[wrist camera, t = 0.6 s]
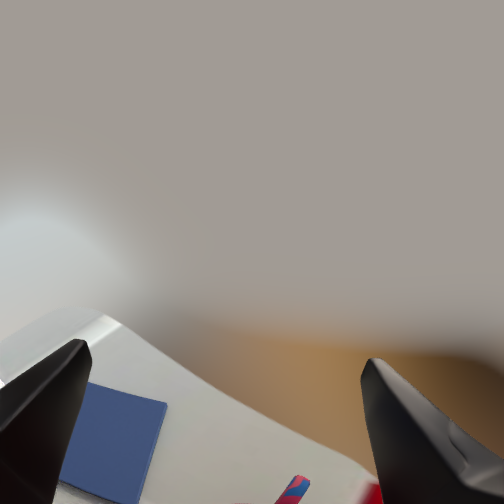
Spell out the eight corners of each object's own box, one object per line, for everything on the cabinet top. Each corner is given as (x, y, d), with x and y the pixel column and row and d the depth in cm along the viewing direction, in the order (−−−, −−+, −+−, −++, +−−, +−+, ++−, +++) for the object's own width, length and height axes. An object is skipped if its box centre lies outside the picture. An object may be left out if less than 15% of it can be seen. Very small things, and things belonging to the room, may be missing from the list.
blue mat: (136, 509, 16) (134, 508, 16) (27, 463, 16) (24, 460, 16) (167, 406, 24) (166, 402, 24) (70, 378, 25) (68, 375, 25)
